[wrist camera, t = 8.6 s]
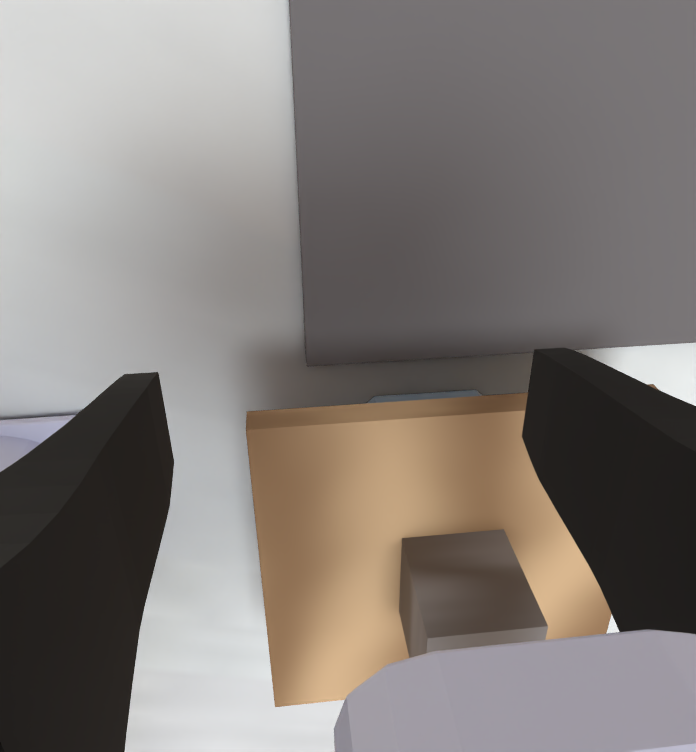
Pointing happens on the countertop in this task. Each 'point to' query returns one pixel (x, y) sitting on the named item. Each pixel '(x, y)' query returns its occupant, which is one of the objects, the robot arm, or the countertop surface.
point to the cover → (406, 539)
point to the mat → (494, 175)
